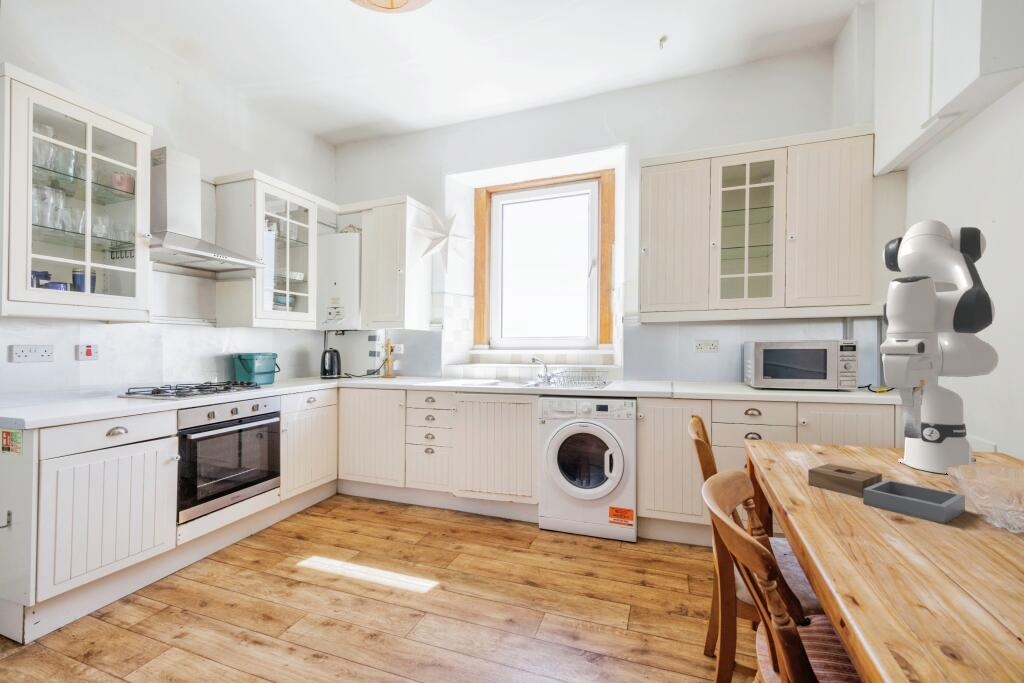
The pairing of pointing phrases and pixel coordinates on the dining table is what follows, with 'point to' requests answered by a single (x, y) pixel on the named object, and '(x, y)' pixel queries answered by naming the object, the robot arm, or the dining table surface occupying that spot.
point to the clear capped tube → (913, 415)
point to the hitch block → (843, 479)
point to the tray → (915, 500)
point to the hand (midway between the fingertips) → (912, 406)
